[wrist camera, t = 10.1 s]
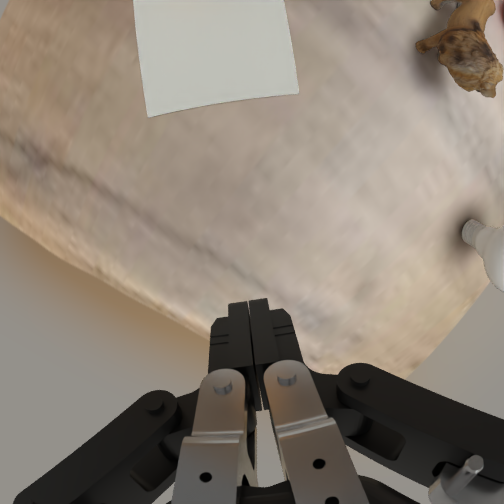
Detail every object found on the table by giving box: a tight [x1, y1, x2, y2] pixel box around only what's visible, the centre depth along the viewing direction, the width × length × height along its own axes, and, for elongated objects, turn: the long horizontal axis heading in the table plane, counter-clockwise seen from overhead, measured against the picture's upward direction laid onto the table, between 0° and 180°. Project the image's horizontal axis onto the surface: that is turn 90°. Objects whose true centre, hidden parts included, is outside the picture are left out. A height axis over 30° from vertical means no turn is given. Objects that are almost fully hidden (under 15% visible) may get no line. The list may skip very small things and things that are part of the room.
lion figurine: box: [416, 0, 503, 98], centre depth 15 cm, size 15×5×9 cm, turn 163°
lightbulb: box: [462, 219, 504, 292], centre depth 23 cm, size 6×6×11 cm
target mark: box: [133, 0, 299, 118], centre depth 20 cm, size 12×12×1 cm
